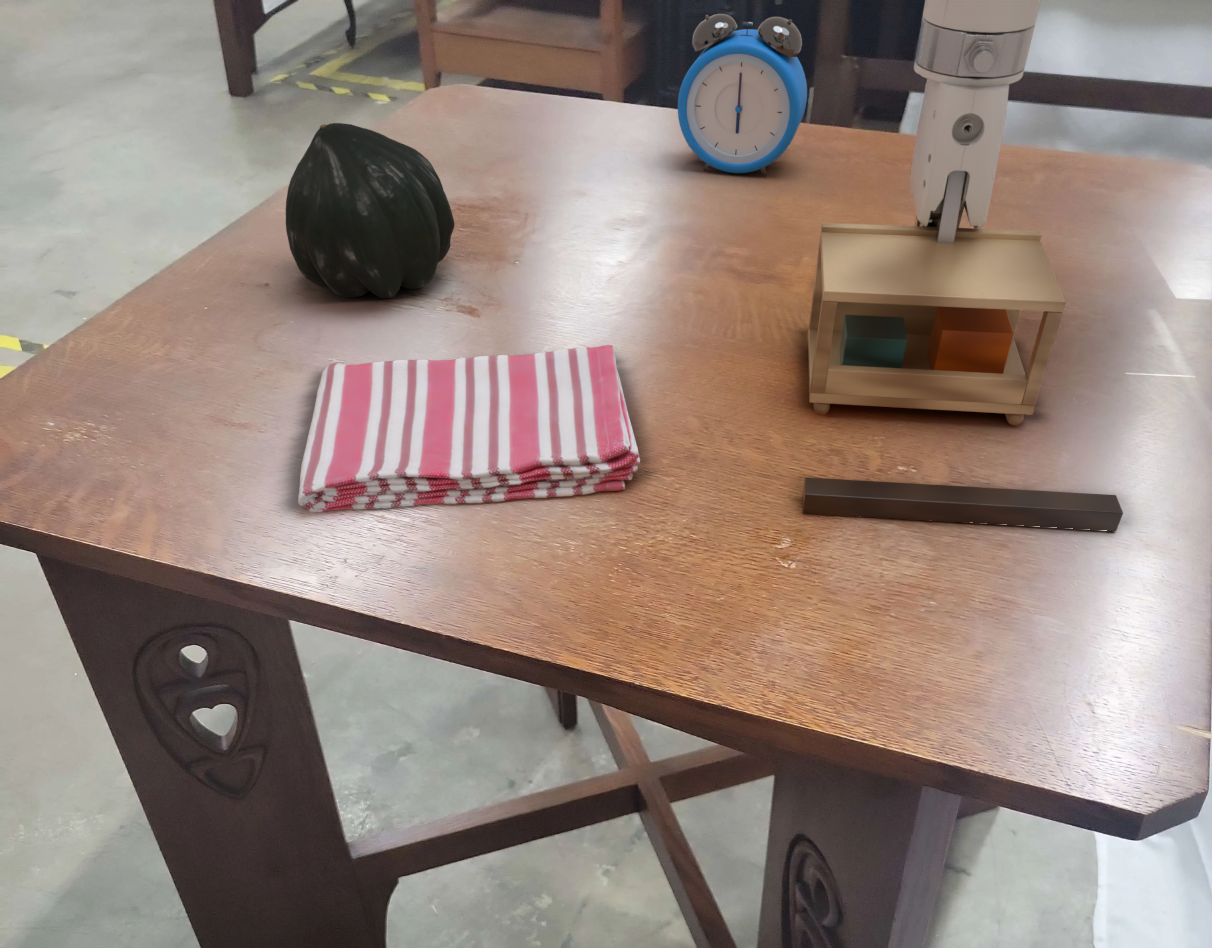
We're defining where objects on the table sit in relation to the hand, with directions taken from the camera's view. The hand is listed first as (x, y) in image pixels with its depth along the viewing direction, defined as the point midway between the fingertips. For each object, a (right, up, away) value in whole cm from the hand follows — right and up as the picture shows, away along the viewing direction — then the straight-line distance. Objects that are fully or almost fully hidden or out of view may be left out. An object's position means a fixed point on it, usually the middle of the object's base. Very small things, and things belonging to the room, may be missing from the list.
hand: (921, 295), depth 86 cm
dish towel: (-36, -13, -8) cm, 39 cm away
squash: (-47, +5, +11) cm, 48 cm away
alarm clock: (-11, +24, +32) cm, 41 cm away
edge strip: (-3, -19, -16) cm, 25 cm away
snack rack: (-2, -8, -4) cm, 10 cm away
